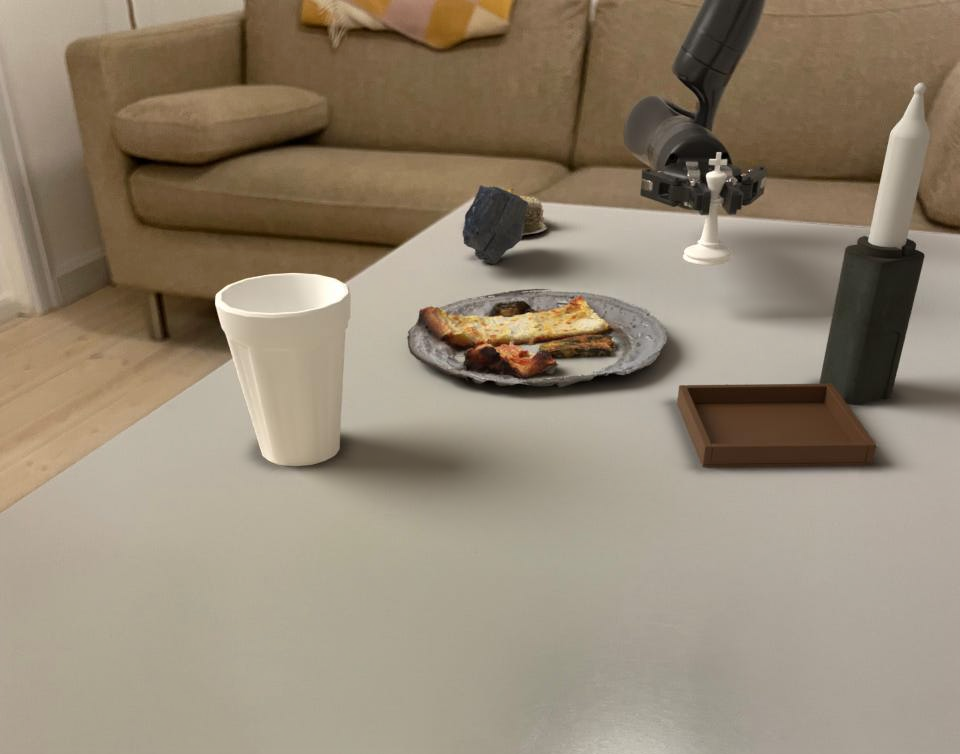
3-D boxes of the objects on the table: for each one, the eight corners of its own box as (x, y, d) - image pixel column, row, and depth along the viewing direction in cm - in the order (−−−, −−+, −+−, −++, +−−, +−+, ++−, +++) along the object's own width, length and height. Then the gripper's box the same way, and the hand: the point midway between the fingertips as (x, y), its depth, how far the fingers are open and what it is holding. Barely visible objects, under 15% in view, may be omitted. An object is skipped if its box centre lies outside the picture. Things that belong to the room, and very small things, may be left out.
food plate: (428, 412, 91) (427, 373, 89) (391, 323, 109) (389, 290, 107) (698, 387, 95) (703, 349, 93) (619, 306, 113) (621, 273, 111)
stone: (482, 246, 132) (482, 162, 127) (529, 248, 132) (531, 163, 126) (461, 279, 121) (460, 188, 116) (512, 282, 120) (514, 190, 115)
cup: (228, 440, 87) (202, 281, 79) (344, 421, 90) (330, 266, 82) (253, 492, 79) (227, 323, 71) (379, 469, 82) (367, 304, 74)
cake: (457, 236, 138) (454, 192, 136) (504, 221, 145) (502, 180, 142) (515, 242, 133) (513, 197, 130) (562, 227, 139) (561, 184, 136)
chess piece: (682, 250, 109) (692, 147, 103) (730, 252, 108) (743, 147, 102) (683, 264, 105) (693, 157, 99) (733, 266, 104) (746, 158, 99)
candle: (849, 413, 90) (918, 90, 75) (811, 391, 94) (871, 80, 79) (895, 403, 92) (972, 85, 77) (857, 382, 96) (923, 76, 81)
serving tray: (827, 408, 91) (832, 383, 90) (870, 472, 81) (877, 444, 80) (676, 409, 91) (679, 384, 90) (701, 473, 81) (705, 446, 80)
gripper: (629, 128, 113) (652, 163, 98) (757, 126, 112) (798, 161, 98) (624, 201, 117) (646, 245, 103) (747, 199, 117) (785, 242, 103)
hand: (720, 203), depth 101 cm, fingers closed on chess piece
